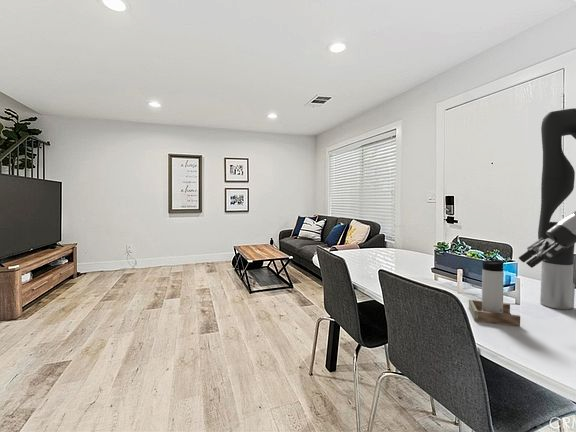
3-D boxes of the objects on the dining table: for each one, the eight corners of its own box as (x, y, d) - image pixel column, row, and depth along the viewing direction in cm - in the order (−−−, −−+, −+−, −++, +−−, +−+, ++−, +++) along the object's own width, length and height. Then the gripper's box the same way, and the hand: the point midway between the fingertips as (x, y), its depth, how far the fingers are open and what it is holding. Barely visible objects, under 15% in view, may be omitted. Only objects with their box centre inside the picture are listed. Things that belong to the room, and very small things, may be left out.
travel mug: (507, 319, 103) (508, 262, 102) (486, 318, 104) (487, 261, 104) (498, 312, 109) (499, 259, 108) (478, 311, 110) (479, 258, 110)
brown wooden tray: (509, 313, 110) (509, 303, 110) (520, 326, 98) (520, 316, 98) (468, 308, 115) (468, 299, 115) (474, 320, 103) (474, 311, 103)
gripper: (550, 221, 104) (509, 251, 110) (568, 224, 91) (521, 258, 97) (569, 236, 102) (526, 266, 108) (590, 242, 89) (541, 276, 95)
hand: (524, 262), depth 102 cm, fingers open, 8 cm apart
